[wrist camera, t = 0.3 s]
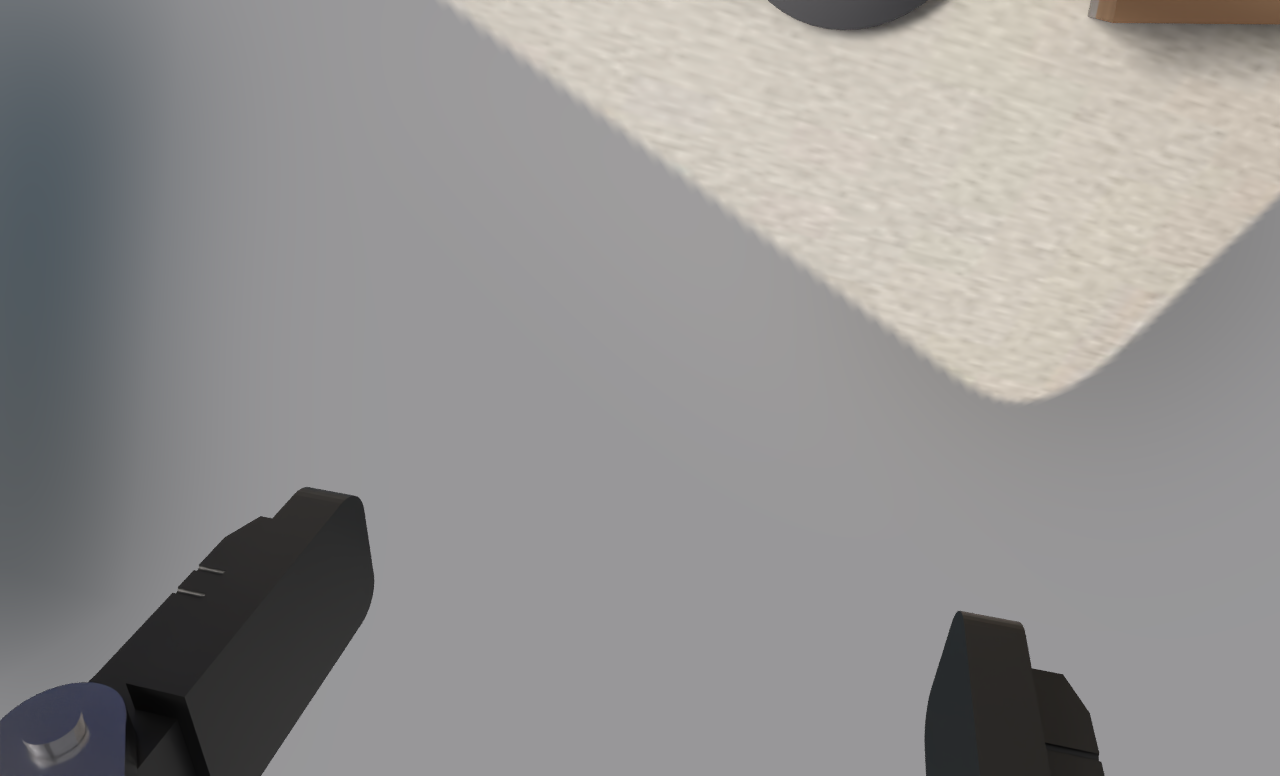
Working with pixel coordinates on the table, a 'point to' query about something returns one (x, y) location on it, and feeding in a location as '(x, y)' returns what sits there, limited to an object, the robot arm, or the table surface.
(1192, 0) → the body
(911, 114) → the table surface
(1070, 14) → the table surface
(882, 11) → the rubber pad
